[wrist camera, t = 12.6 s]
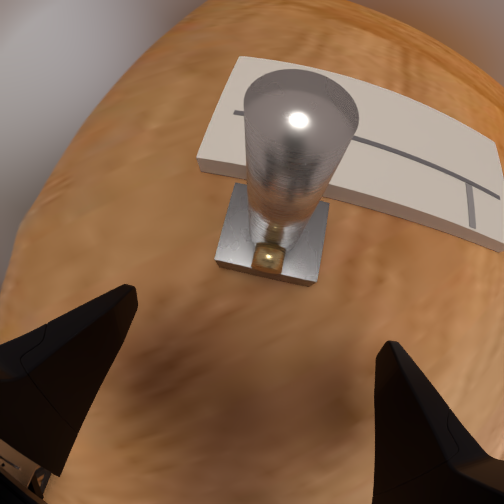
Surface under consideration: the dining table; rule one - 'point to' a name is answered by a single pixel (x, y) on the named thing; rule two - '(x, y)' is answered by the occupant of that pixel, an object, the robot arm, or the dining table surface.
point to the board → (384, 157)
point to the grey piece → (286, 175)
